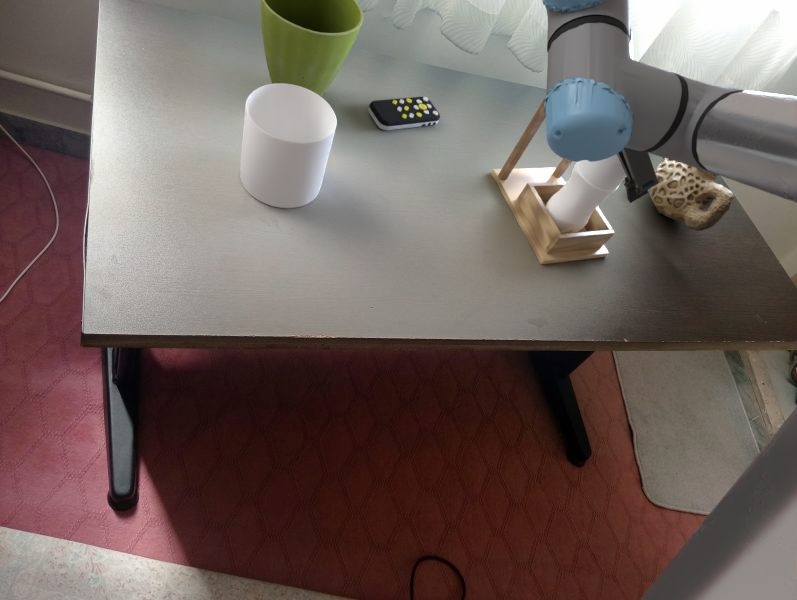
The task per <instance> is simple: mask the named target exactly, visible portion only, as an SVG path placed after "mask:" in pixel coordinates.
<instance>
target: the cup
mask: <svg viewBox="0 0 797 600" xmlns="http://www.w3.org/2000/svg"><path fill="white" fill-rule="evenodd" d="M244 106H245V107H244V118H243V119H244V120H243V130H242V133H243V134H242V140H241V141H242V143H241V155H240V164H239V165H240V166H239V167H240V168H239V176H240V182H241V185H242V186H243V187H244V189H245V190H246V191H247V192H248V194H250V195H251V196H252V197H253V198H254V199H256V200H257V201H259V202H261V203H263V204H265V205H267V206H271V207H274V208H280V209H295V208H300V207H303V206H307V205H308V204H309V203H311V202H313V201H314V200H315V199H316V198H317V197H318V195H319V194H320V192H321V188H322V184H323V181H324V176H325V172H326V168H327V164H328V161H329V157H330V153H331V149H332V145H333V142H334V137H335V134H336V129H337V126H338V120H337V116H336V113H335V111H334V109H333V107H332V106H331V105H330V103H329V102H328V101H327V100H326V99H324V98H323V96H322V97H320V96H319V95H318V94H316V93H314V92H312V91H311V90H308V89H306V88H303V87H301V86H297V85H293V84H285V83H274V84H272V83H269V84H264V85H262V86H259V87H257V88H256V89H254V90H253V91H251V93H249V95H248V96H247V98H246V101H245V105H244Z"/></svg>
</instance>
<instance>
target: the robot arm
mask: <svg viewBox="0 0 797 600" xmlns="http://www.w3.org/2000/svg"><path fill="white" fill-rule="evenodd" d="M541 1H542V4H543V5H544V6H545V9H546V15H547V35H546V36H547V38H546V39H547V41H546V45H547V46H546V52H547V66H546V67H547V69H546V70H547V71H546V90H545V91H546V92H545V96H544V99H545V103H544V111H545V116H546V117H545V128H546V130H545V131H546V134H545V135H546V142H547V144H548V146H549V148H550V150H551V151H552V152H553V153H554V154H555V155H556V156H558V157H560V159H561V158H562V159H563V158H564V159H566V160H570V161H572V162H576V163H577V162H579V161H582V160H588V161H590V162H594V161H600V160H604V159H607V158H609V157H612V156H614V155H616V154H617V156H618V158H619V161H620V163H621V165H622V167H623V169H624V171H625V173H626V176H627V177H625V179H624V183H623V185H624V188H625V192H626V199H627V201H628V203H629V204H631V203H633V202H636V201H637V200H639V199H641V198H642V197H644V196H646V195H648V194H649V190H650V188H652V187H653V186H655V185H657V184H658V179H657V177H656V174H655V168H654V166H653V163H652V159H651V157H650V155H653V156H657V157H661V158H662V157H664V158H667V159H670V160H674V161H677V162H680V163H684V164H687V165H690V166H692V167H695V168H698V169H701V170H704V171H707V172H710V173H714V174H717V175H719V176H721V177H723V178H726V179H728V180H731V181H734V182H737V183H739V184H742V185H745V186H748V187H751V188H754V189H757V190H759V191H762V192H765V193H768V194H770V195H773V196H776V197H779V198H782V199H784V200H787V201H790V202H793V203H796V204H797V96H794V95H787V94H779V93H772V92H763V91H757V90H749V89H741V88H735V87H727V86H722V85H716V84H711V83H707V82H704V81H701V80H697V79H694V78H690V77H687V76H683V75H681V74H679V73H676V72H674V71H669V70H666V69H663V68H659V67H657V66H655V65H654V66H653V65H651V64H648V63H645V62H641V61H638V60H635V59H634V45H633V44H634V43H633V30H632V28H631V15H630V14H631V13H630V0H541ZM639 600H797V406H796V407H795V408H794V409H793V411H792V412H791V413H790V414H789V416H788V417H787V418H786V419H785V420H784V422H783V423H782V424H781V425H780V427H779V428H778V429H777V430H776V431H775V433H774V434H772V436H771V438H770V439H769V440H768V441H767V443H766V444H765V445H764V446H763V447H762V449H761V450H760V451H759V452H758V454H757V455H756V456H755V458H753V460H751V462H750V463H749V464H748V465H747V467H746V468H745V470H744V471H743V472H742V473H741V475H740V476H739V477H738V478H737V479H736V480H735V482H734V483H733V484H732V485H731V487H730V488H729V489H728V491H727V492H726V493H725V494H724V495H723V496H722V498H721V499H720V500H719V502H717V504H716V505H715V506H714V508H713V509H712V510H711V511H710V513H709V514H708V515H707V516H706V517H705V519H704V520H703V521H702V522H701V524H699V526H698V527H697V528H696V530H695V531H694V532H693V533H692V535H691V536H690V537H689V538H688V540H687V541H686V542H685V543H684V544H683V546H682V547H681V548H680V549H679V550H678V552H677V553H676V554H675V555H674V557H673V558H672V559H671V560H670V561H669V563H668V564H667V565H666V567H664V568H663V570H662V572H660V574H659V575H658V576H657V577H656V578H655V580H654V581H653V583H651V585H650V586H649V587H648V588H647V590H646V591H645V592H644V593H643V595H642V596H641V597H640V598H639Z"/></svg>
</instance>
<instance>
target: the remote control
mask: <svg viewBox="0 0 797 600" xmlns="http://www.w3.org/2000/svg"><path fill="white" fill-rule="evenodd" d="M367 109H368V113H369V115H370V117H371V118H372V119H373V121H374V123H375V124H376V126H377V127H378V128H379V129H380V130H383V131H395V130H402V129H411V128H420V127H428V126H435V125H437V124H438V123H439V121H440V119H441V113H440V112H439V111H438V108H436V107H435V106H434V104H433V102H432V101H431V100H430V99H429V98H428V97H426V96H413V97H411V96H410V97H399V98H390V99H377V100H376V99H375V100H372V101H370V103H369V106H368V108H367Z"/></svg>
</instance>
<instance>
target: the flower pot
mask: <svg viewBox="0 0 797 600" xmlns="http://www.w3.org/2000/svg"><path fill="white" fill-rule="evenodd" d="M259 3H260V19H261V34H262V44H263V50H264V56H265V60H266V66H267V71H268V74H269V79H270V82H271V84H274V83H285V84H293V85H297V86H301V87H303V88H306V89H308V90H311V91H312V92H314V93H316V94H318V95H319V96H320V97H322V98H323V96H324V94H325V93H326V92H327V90H328V89H329V88H330V86H331V84H332V83H333V82H334V80H335V79H336V77H337V75H338V74H339V72H340V70H341V68H342V67H343V65H344V63H345V61H346V59H347V58H348V56H349V53H350V52H351V49H352V47H353V45H354V43H355V41H356V39H357V37H358V34H359V32H360V29H361V27H362V25H363V22H364V12H363V10H362V7H361V6H360V3H358V1H357V0H259Z"/></svg>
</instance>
